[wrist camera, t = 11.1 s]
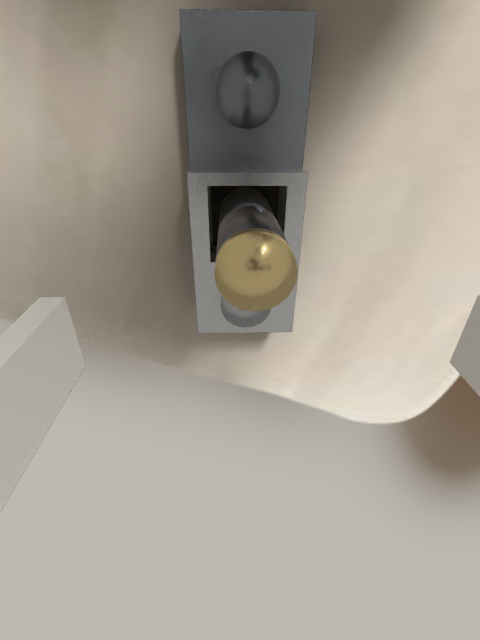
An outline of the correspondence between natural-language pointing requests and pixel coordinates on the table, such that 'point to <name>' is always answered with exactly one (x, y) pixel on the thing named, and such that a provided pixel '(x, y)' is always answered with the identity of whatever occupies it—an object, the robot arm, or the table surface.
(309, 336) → the table surface
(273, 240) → the pin
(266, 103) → the metal block with stud
